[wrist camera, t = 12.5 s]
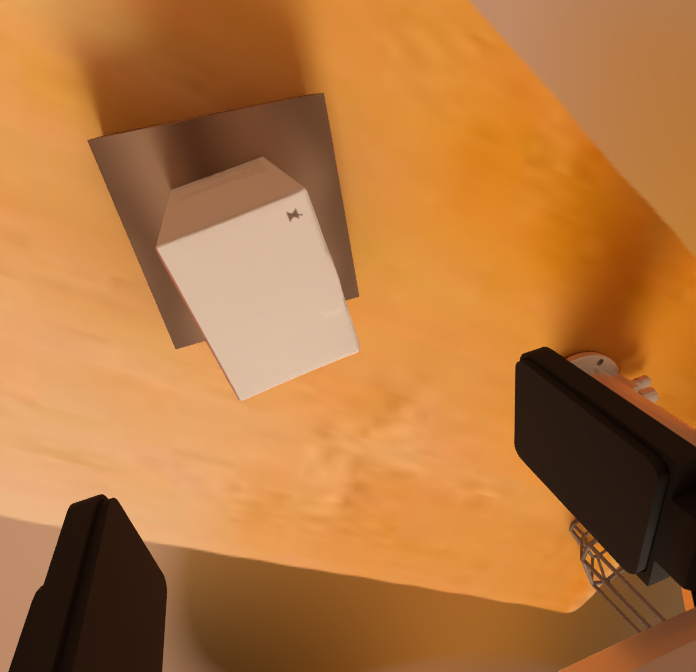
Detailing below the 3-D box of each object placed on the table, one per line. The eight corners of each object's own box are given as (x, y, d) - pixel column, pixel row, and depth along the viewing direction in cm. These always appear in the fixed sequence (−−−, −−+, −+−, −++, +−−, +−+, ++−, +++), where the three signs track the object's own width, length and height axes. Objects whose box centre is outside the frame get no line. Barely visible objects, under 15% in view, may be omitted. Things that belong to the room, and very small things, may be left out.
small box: (168, 189, 28) (149, 243, 16) (264, 153, 28) (309, 182, 17) (224, 301, 32) (239, 406, 21) (307, 268, 32) (365, 351, 21)
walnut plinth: (306, 95, 32) (323, 92, 28) (341, 275, 39) (359, 296, 35) (103, 135, 30) (87, 140, 25) (178, 321, 36) (175, 349, 32)
